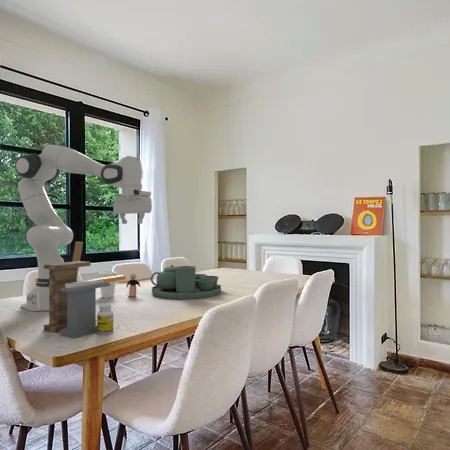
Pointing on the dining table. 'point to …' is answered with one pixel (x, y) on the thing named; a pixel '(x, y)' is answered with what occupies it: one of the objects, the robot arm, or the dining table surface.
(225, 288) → the dining table surface
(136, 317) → the dining table surface
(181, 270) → the tea set
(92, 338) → the dining table surface
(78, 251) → the hammer
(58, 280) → the tall stand
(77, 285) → the wooden handled knife
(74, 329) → the rack
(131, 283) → the grandmother figurine
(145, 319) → the dining table surface
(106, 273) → the foam cup
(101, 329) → the supplement bottle
